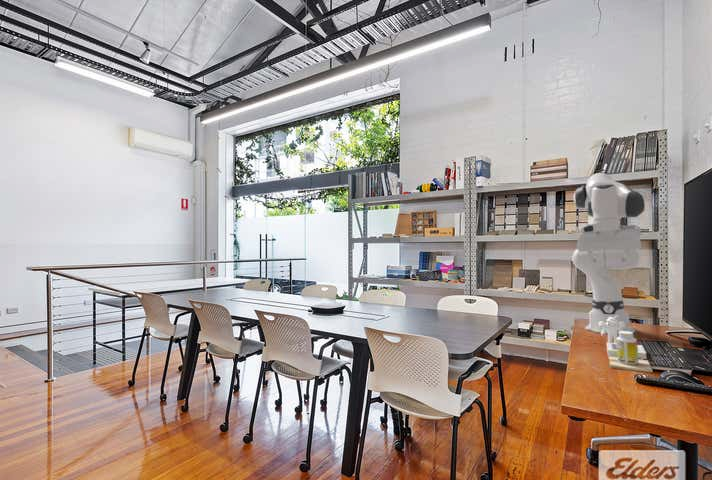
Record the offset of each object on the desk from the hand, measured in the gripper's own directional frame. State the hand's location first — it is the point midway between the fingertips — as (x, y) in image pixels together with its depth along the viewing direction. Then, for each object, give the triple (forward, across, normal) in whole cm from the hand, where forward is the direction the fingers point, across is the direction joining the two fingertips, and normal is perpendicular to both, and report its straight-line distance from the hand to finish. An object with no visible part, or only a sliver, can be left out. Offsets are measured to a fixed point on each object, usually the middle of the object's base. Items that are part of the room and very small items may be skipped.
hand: (609, 262), depth 142 cm
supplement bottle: (+33, -3, +17) cm, 37 cm away
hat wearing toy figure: (+34, 0, -9) cm, 35 cm away
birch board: (+34, -3, +17) cm, 38 cm away
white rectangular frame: (+34, -3, +4) cm, 34 cm away
